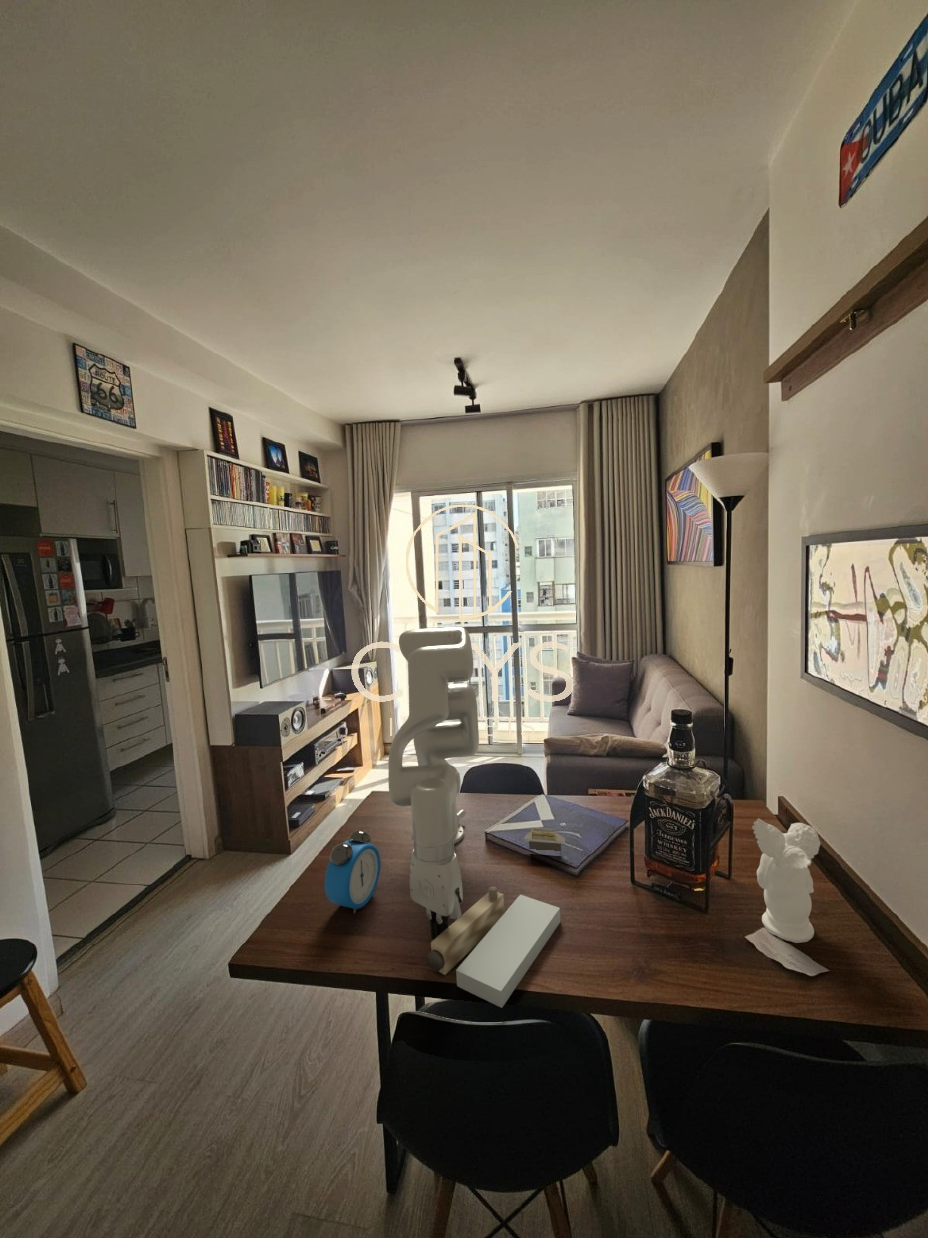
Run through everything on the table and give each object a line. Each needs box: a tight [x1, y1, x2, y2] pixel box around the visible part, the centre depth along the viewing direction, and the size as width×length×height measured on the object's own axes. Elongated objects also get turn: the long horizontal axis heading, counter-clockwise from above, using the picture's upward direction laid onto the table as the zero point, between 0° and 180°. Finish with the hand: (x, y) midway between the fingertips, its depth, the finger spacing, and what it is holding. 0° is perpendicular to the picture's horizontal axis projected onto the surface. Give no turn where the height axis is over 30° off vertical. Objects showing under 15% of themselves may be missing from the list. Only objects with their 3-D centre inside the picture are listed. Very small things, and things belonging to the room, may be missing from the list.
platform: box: [524, 827, 566, 852], centre depth 130 cm, size 12×18×7 cm, turn 76°
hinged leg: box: [426, 886, 505, 976], centre depth 100 cm, size 20×3×6 cm, turn 141°
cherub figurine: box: [752, 817, 821, 944], centre depth 97 cm, size 12×12×22 cm
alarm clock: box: [324, 828, 381, 914], centre depth 115 cm, size 13×6×15 cm, turn 156°
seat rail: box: [455, 894, 561, 1009], centre depth 98 cm, size 24×9×3 cm, turn 146°
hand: (440, 936), depth 100 cm, fingers closed
